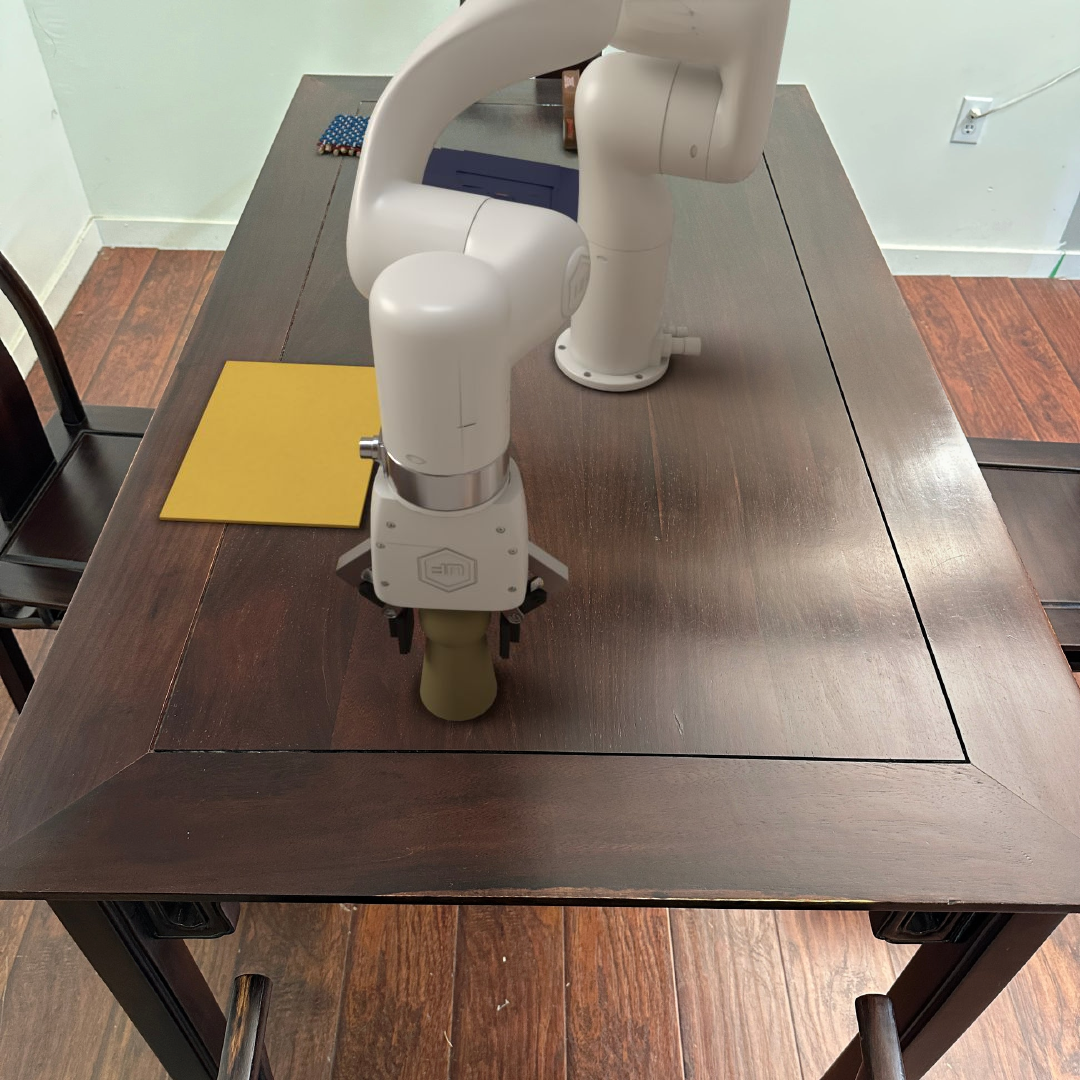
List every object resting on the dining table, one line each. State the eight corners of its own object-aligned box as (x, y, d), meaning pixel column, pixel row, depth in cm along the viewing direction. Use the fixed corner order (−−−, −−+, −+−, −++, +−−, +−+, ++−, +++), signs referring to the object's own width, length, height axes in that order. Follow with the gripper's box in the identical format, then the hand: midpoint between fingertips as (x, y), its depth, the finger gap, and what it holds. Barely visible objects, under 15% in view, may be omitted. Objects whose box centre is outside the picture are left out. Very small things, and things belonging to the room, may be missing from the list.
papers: (392, 158, 136) (393, 133, 134) (600, 192, 139) (605, 168, 136) (364, 244, 120) (365, 217, 117) (602, 281, 122) (608, 256, 120)
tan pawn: (487, 727, 73) (486, 637, 65) (410, 713, 74) (399, 621, 66) (505, 665, 77) (506, 572, 69) (432, 651, 78) (424, 558, 70)
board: (394, 370, 104) (394, 367, 104) (359, 528, 87) (358, 525, 87) (227, 363, 104) (226, 360, 104) (159, 520, 87) (158, 517, 87)
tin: (581, 159, 141) (584, 100, 135) (559, 158, 141) (562, 99, 135) (579, 117, 152) (582, 61, 146) (559, 116, 152) (562, 60, 146)
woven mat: (335, 124, 147) (334, 111, 145) (404, 131, 146) (403, 117, 145) (315, 154, 140) (313, 140, 138) (386, 161, 139) (385, 147, 137)
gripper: (291, 494, 56) (329, 678, 68) (591, 507, 56) (573, 688, 69) (316, 412, 61) (347, 597, 74) (590, 424, 61) (574, 607, 74)
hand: (456, 640), depth 71 cm, fingers open, 6 cm apart
